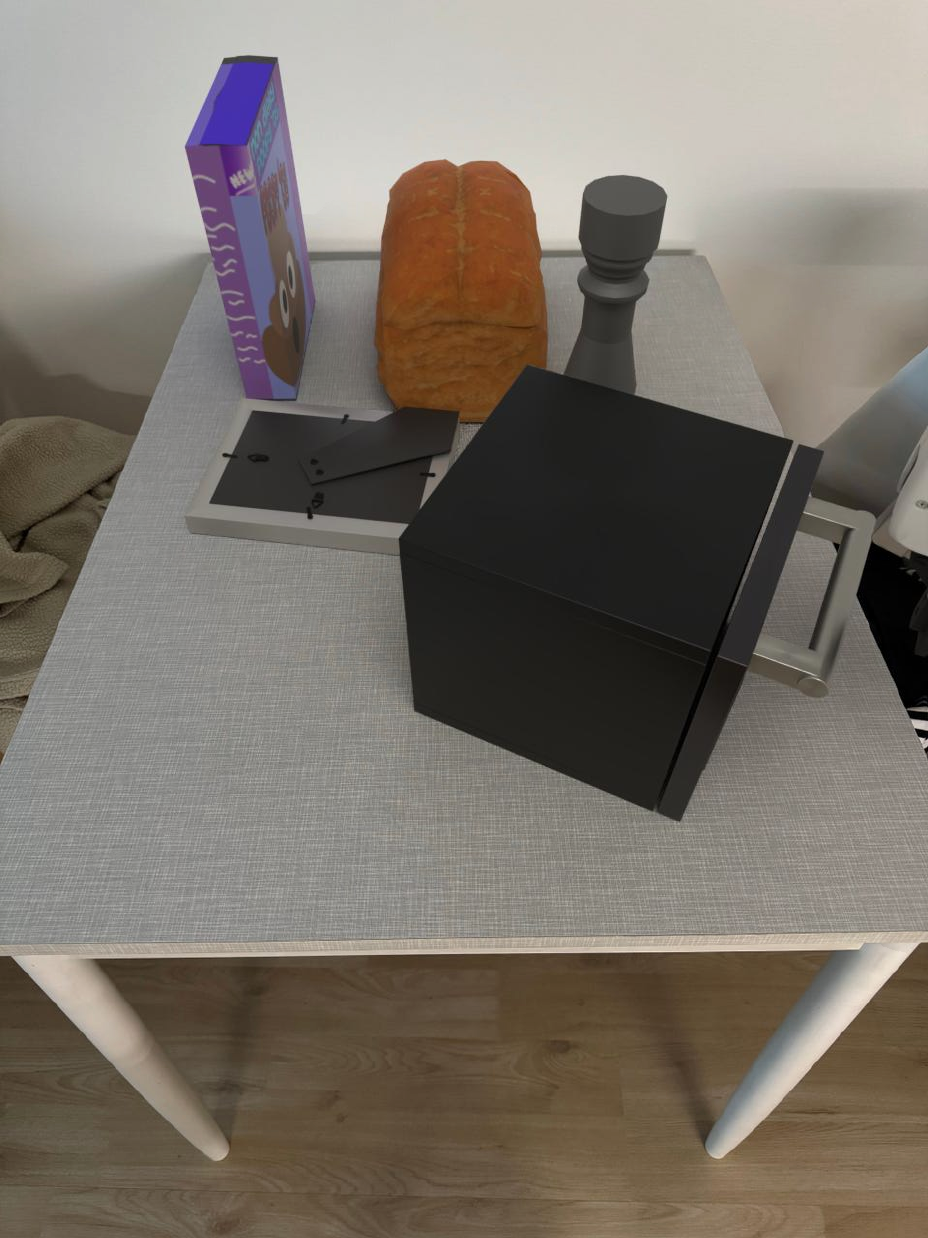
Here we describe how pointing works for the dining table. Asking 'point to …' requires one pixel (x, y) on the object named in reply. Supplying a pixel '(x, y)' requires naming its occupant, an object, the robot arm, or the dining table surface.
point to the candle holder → (614, 275)
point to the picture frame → (323, 474)
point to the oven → (583, 575)
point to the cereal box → (254, 223)
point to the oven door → (744, 635)
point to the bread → (459, 288)
